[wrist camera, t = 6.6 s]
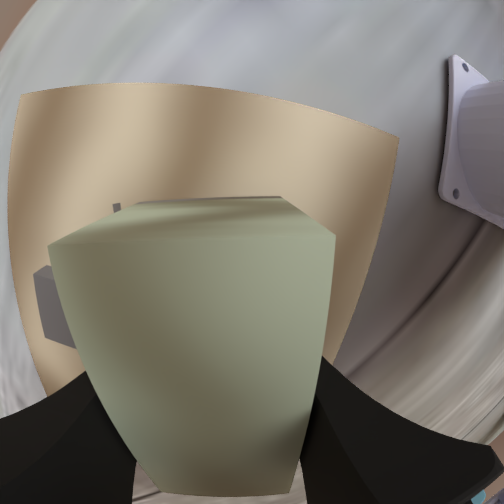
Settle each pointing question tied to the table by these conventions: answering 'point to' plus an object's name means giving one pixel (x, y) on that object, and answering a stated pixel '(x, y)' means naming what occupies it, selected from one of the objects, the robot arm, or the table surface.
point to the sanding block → (202, 335)
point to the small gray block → (51, 308)
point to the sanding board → (186, 178)
